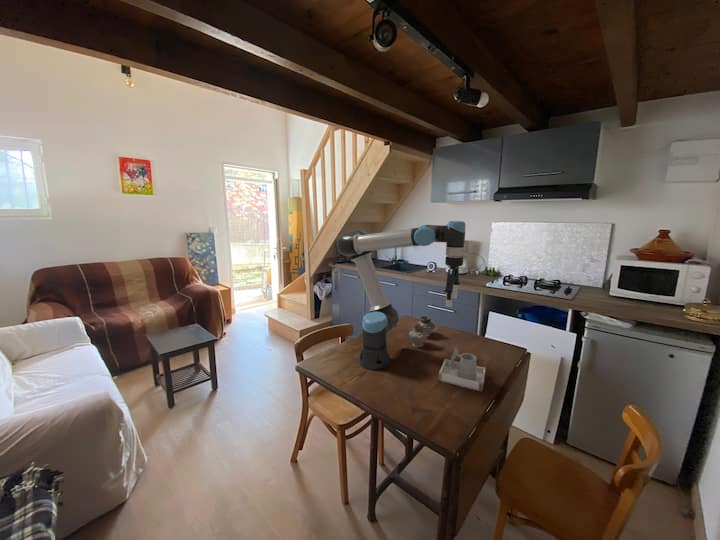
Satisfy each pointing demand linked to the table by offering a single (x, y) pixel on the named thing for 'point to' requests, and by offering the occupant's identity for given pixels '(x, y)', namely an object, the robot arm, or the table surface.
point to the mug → (464, 365)
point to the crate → (452, 378)
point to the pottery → (421, 331)
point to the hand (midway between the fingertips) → (451, 302)
